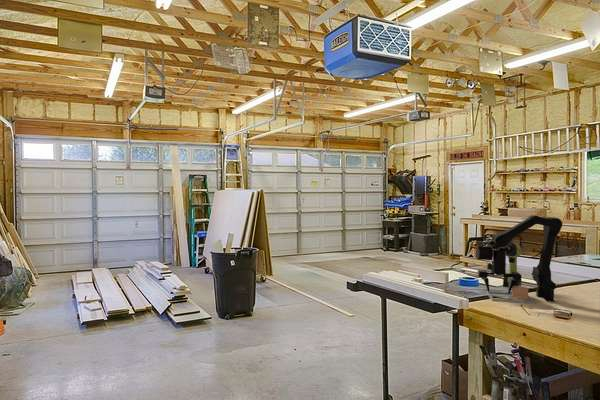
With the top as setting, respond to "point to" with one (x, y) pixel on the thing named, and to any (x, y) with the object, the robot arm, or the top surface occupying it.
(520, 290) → the block
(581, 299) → the top surface
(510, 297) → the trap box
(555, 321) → the top surface
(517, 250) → the cordless drill
